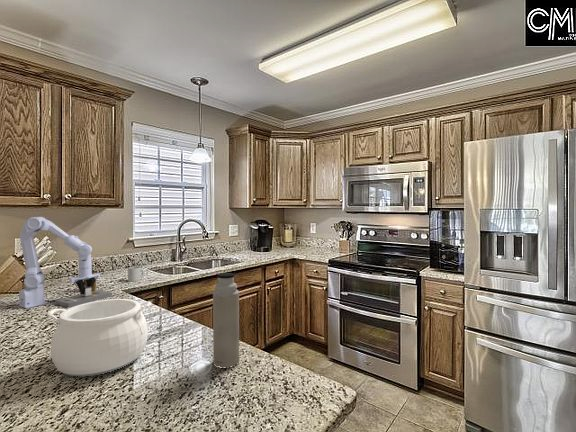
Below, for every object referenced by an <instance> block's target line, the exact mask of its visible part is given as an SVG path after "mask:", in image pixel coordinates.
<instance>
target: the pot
mask: <svg viewBox="0 0 576 432" xmlns="http://www.w3.org/2000/svg"><path fill="white" fill-rule="evenodd" d="M151 306H152V302H151V301H149V300H148V301H144V302H142V303H141V304H140V302H138V301H137V300H135V299H129V298H126V299H125V298H111V299H100V300H96V301H92V302H88V303H84V304H80V305H77V306H73V307H68V308H67V309H65V308H53V309H51V310H49V311H48V312H47V313H46V316H47V317H50V318H53V319H54V320H55V321H56V322H57V326H56V329H55V330H54V332H53V334H52V336H51V340H50V343H49V344H50V357H51V360H52V362H53V365H54V366H55V368H56V370H58V371H59V372H60V373H62V374H64V375H65V374H66V376H68V375H69V377H73V376H76V377H75V378H86V377H85V376H91V377H95V376H94V375H98V376H100V375H99V374H103V373H107V372H110V371H113V372H115V371H114V370H116V371H118V370H117V369H119V370H121V369H123V368H125V367H127V366H129V365H131V364H132V363H133V361H134V362H135V361H136V360H137V359H138V358H139V357H140V356H141V354H143V352H144V349H146V346H147V341H148V336H149V335H148V331H149V330H148V329H149V328H148V322H147V319H146V317H145V315H144V313H143V312H142V311H143V310H144V309H149V308H150V307H151ZM57 312H61V313H60V314H59V317H58V318H57V316H55V315H54V313H57ZM130 363H131V364H130ZM128 364H129V365H128ZM126 365H127V366H126ZM124 366H125V367H124ZM122 367H123V368H122ZM120 368H121V369H120ZM110 373H111V372H110ZM107 374H108V373H107ZM103 375H104V374H103ZM77 376H78V377H77ZM79 376H80V377H79ZM81 376H82V377H81Z"/></svg>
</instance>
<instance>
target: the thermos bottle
mask: <svg viewBox="0 0 576 432" xmlns="http://www.w3.org/2000/svg"><path fill="white" fill-rule="evenodd" d="M217 277H218V279H217V283H216V284H215V285H214V291H213V292H212V327H213V328H212V333H213V334H212V336H213V337H212V340H213V341H212V342H213V344H212V345H213V346H212V348H213V350H212V353H213V357H212V358H213V363H214V364H215V365H216V366H220V367H229V366H232V365H235V364H237V363H238V362H240V290H238V289H237V288H238V285H237V283H235V278H234V277H235V273H232V272H223V273H219V274H218V275H217ZM214 364H213V365H214ZM238 364H239V363H238ZM238 364H237V365H238Z"/></svg>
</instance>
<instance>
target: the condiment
mask: <svg viewBox="0 0 576 432" xmlns="http://www.w3.org/2000/svg"><path fill="white" fill-rule="evenodd" d="M92 274H96V270H94V269H92ZM94 279H96V278H94ZM83 282H85V285H87V282H86V280H83ZM97 290H98V289H97V279H96V281H95V283H94V285H93V287H92V291H97ZM92 291H91V292H92Z"/></svg>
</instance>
